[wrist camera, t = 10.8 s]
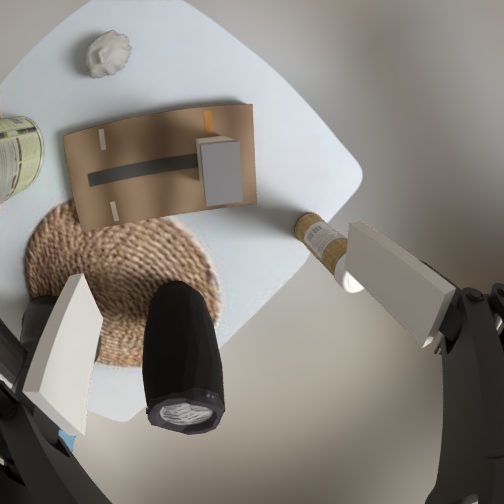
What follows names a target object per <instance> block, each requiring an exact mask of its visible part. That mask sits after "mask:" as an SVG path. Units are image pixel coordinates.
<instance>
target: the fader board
mask: <svg viewBox="0 0 504 504" xmlns="http://www.w3.org/2000/svg"><path fill="white" fill-rule="evenodd" d="M216 136H225V137H228V138H231V139H234V140H237V141H240V155H241V173H242V191H243V202H237V203H229V204H221V205H214V206H206V202H205V199H204V195H203V192H202V188H201V185H200V179H199V169H198V158H197V147H196V139H198V138H207V137H216ZM63 141H64V149H65V155H66V162H67V168H68V173H69V179H70V184H71V188H72V193H73V198H74V202H75V206H76V210H77V214H78V218H79V222H80V226H81V229H82V232H83V231H88V230H92V229H97V228H103V227H108V226H113V225H118V224H123V223H129V222H135V221H140V220H146V219H152V218H158V217H164V216H170V215H176V214H183V213H190V212H196V211H203V210H210V209H218V208H225V207H233V206H241V205H249V204H257V197H256V173H255V149H254V127H253V105H252V104H238V105H221V106H209V107H199V108H190V109H182V110H174V111H167V112H161V113H155V114H149V115H144V116H138V117H133V118H129V119H124V120H120V121H115V122H111V123H107V124H103V125H99V126H95V127H92V128H88V129H85V130H81V131H78V132H74V133H71V134H68V135H65V136H63Z"/></svg>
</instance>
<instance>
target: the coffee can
mask: <svg viewBox="0 0 504 504" xmlns="http://www.w3.org/2000/svg"><path fill="white" fill-rule="evenodd" d="M43 158H44V143H43V138H42V134H41V132H40V130H39V128H38V126H37V125H36V124H35V123H34V121H32V120H31V119H29V118H26V117H15V118H7V119H0V204H1V203H3V202H4V201H6V200H7V199H9V198H10V197H12V196H14V195H15V194H17V193H18V192H20V191H22V190H24V189H26V188H28V187H29V186H30V185H31V184H32V183H33V182H34V181H35V179H36V178H37V176H38V175H39V172H40V170H41V167H42V163H43Z"/></svg>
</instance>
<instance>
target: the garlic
mask: <svg viewBox="0 0 504 504" xmlns="http://www.w3.org/2000/svg"><path fill="white" fill-rule="evenodd" d="M130 50H131V47H130V45H129V39H128V37H127V36H126V35H124V34H118V33H117V32H116V31H114V30H111V31H108V32H106V33H104V34H103V35H101V36H100V37H97V38H96V39H95V40H94V41H93V43H91V44H90V45H89V46H88V48H87V50H86V53H85V59H86V66H87V67H88V68H89V71H90V76H91V77H92V78H101V77H103V76H105V75H114V74H115V73H116V72H117V71H119V70H121V69H122V68H123V67H125V63H126V62H127V61H128V58H129V57H130V55H131V51H130Z"/></svg>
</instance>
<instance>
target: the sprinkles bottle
mask: <svg viewBox="0 0 504 504" xmlns="http://www.w3.org/2000/svg"><path fill="white" fill-rule="evenodd" d="M295 235H296V237H297V238H298V240H300V241H301V242H302V243H304V245H305V246H306V247H307V249H308V250H309V251H310V252H311V253H312V254H313V255H314V256H315V257H316V258H317V259H318V260H319V261H320V262H321V263H322V264H323V265H324V266H325V267H326V268H327V269H328V270H329V271H330V272H331V273H332V275H333V276H334V278H335V280H336V282H337V283H338V284H339V285H340V286H341V287H342V288H343V289H344V290H345V291H347V292H351V293H354V292H358V291H361V290H362V289H364V287H363V286H362V285H361V284H359V283H358V282H357V281H356V280H355V279H354V278H353V277H352V276H351V275H350V274H349V273H348V272H347V271H346V270H345V269H344V268H345V260H346V250H347V241H348V239H347V238H346V237H345V236H344V235H342V234H341V233H340V232H339V231H337V230H336V229H335V228H334V227H332V226H331V225H330V224H328V223H326V222H325V221H324V220H322V218H321V217H320V216H319V215H317V214H314V213H309V214H306V215H304V216H302V217H301V218H300V219H299V220H298V222H297V224H296V226H295Z"/></svg>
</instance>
